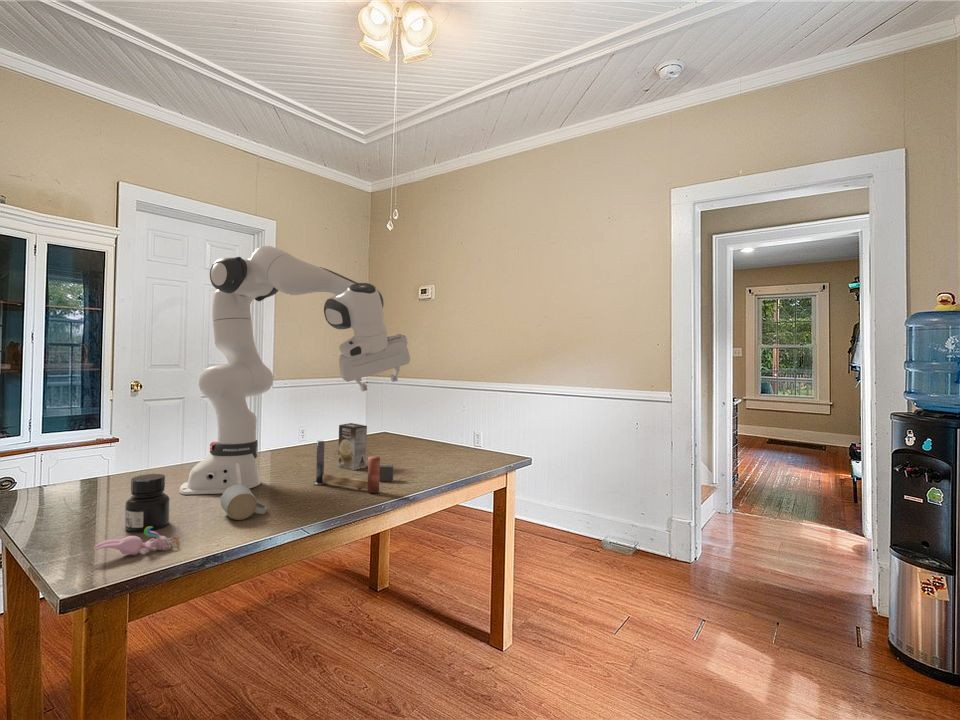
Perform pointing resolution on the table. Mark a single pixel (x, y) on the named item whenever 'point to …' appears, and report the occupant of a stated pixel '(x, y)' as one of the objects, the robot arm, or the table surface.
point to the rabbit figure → (139, 543)
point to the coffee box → (352, 446)
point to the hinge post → (319, 463)
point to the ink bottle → (147, 503)
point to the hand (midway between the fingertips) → (379, 385)
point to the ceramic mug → (240, 503)
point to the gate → (370, 485)
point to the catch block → (386, 473)
